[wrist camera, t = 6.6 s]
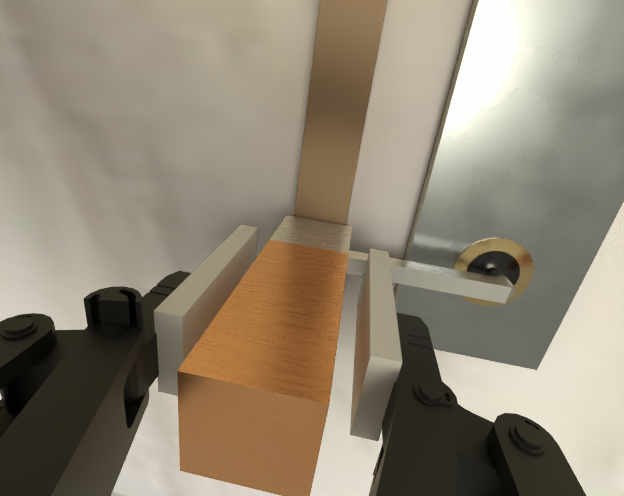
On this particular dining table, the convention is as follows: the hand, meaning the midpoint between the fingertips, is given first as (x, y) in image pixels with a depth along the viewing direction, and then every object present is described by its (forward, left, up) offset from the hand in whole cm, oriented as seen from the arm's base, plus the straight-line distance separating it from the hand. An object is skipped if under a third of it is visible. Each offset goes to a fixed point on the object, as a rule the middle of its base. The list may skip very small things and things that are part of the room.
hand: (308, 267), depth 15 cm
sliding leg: (0, +4, -3) cm, 4 cm away
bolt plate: (-7, +8, -4) cm, 12 cm away
